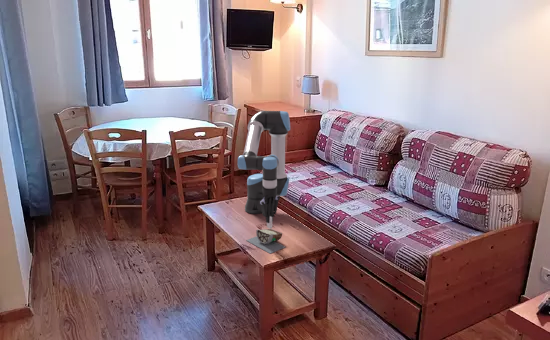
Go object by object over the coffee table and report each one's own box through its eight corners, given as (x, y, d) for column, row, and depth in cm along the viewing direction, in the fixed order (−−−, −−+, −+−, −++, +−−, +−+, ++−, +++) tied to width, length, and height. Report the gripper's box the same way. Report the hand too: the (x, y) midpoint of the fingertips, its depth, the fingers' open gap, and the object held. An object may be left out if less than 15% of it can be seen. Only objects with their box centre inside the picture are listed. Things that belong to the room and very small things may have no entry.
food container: (268, 238, 246) (254, 240, 239) (269, 228, 245) (255, 229, 238) (282, 245, 236) (268, 247, 230) (284, 234, 236) (270, 235, 229)
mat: (261, 235, 247) (261, 234, 246) (285, 247, 232) (285, 246, 232) (246, 240, 239) (246, 240, 239) (270, 253, 225) (270, 253, 225)
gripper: (274, 182, 235) (273, 222, 242) (255, 187, 227) (255, 228, 234) (283, 185, 230) (283, 226, 237) (264, 190, 221) (264, 233, 228)
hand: (269, 227), depth 235 cm, fingers closed
